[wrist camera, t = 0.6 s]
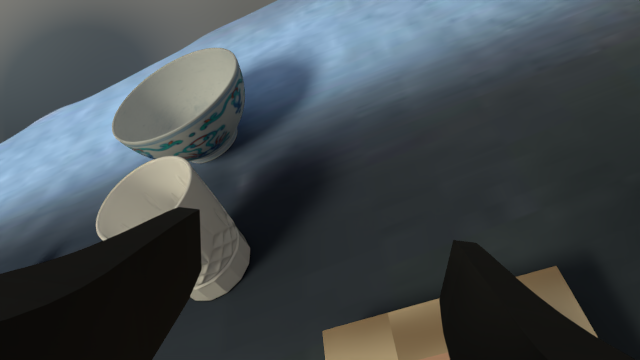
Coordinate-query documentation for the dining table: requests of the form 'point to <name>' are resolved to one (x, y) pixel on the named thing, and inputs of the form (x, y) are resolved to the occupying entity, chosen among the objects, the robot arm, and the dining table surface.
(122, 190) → the white cup
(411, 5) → the dining table surface
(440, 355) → the terracotta block
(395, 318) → the pocket block
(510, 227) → the dining table surface
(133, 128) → the chinaware
